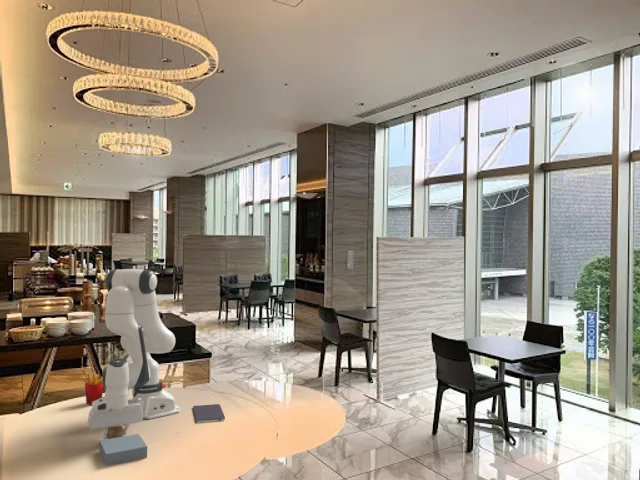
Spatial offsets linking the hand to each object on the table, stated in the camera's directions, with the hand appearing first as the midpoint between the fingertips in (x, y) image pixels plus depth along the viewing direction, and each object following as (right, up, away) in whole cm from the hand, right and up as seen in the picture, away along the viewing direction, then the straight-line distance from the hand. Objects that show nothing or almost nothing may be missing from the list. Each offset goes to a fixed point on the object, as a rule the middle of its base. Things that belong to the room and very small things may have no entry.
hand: (115, 436), depth 191 cm
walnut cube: (0, -2, 0) cm, 2 cm away
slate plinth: (+8, -2, -13) cm, 15 cm away
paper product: (+29, -4, +34) cm, 45 cm away
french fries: (-29, -2, +43) cm, 52 cm away
